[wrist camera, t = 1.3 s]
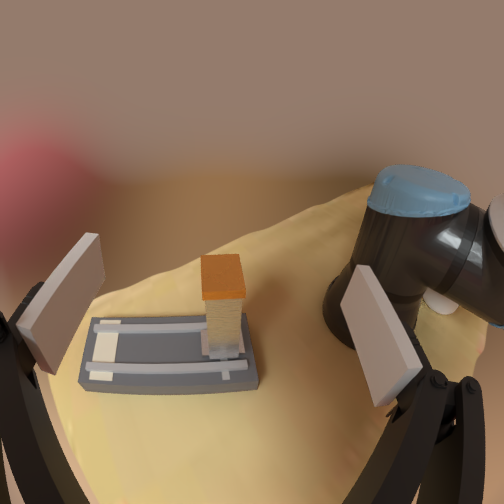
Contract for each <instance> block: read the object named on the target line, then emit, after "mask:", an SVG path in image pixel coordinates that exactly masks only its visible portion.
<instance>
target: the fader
mask: <svg viewBox="0 0 504 504" xmlns="http://www.w3.org/2000/svg"><path fill="white" fill-rule="evenodd" d="M201 279H202V298H203V301H204V300H205V307H206V321H207V330H201V345H202V357H208V356H209V357H210V359H224V358H237V357H239V354H245V348H244V343H243V337H242V331H241V328H240V327H241V313H242V298H245V295H246V288H245V283H244V278H243V273H242V268H241V263H240V258H239V254H224V255H201Z"/></svg>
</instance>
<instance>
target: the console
mask: <svg viewBox="0 0 504 504" xmlns="http://www.w3.org/2000/svg"><path fill="white" fill-rule="evenodd" d="M240 328H241V331H242V337H243V343H244V348H245V354H239V357H237V358H224V359H210V357H209V356H208V357H202V345H201V330H207V321H206V316H182V317H143V318H97V317H92V319H91V323H90V327H89V331H88V335H87V339H86V344H85V348H84V353H83V358H82V363H81V368H80V373H79V379H78V383H79V384H80V385H81V386H82V387H83V388H84V390H85V391H92V392H103V393H117V394H138V395H189V394H211V393H226V392H237V391H248V390H257V387H258V382H259V379H258V374H257V369H256V364H255V359H254V354H253V349H252V344H251V338H250V333H249V328H248V323H247V317H246V313H241V327H240Z"/></svg>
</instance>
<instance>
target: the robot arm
mask: <svg viewBox="0 0 504 504" xmlns="http://www.w3.org/2000/svg"><path fill="white" fill-rule="evenodd" d="M470 201H471V198H470V191H469V189H468V188H467V187H466V186H465V185H464V184H462V183H461V182H459V181H457V180H455V179H453V178H452V177H450V176H448V175H446V174H444V173H441V172H438V171H435V170H431V169H428V168H424V167H420V166H413V165H392V166H388V167H386V168H384V169H383V170H382V171H380V173H379V174H378V175H377V178H376V180H375V183H374V186H373V189H372V192H371V195H370V196H369V197H368V200H367V208H366V212H365V215H364V219H363V222H362V225H361V228H360V232H359V235H358V238H357V241H356V244H355V247H354V250H353V253H352V256H351V259H350V262H349V263H348V264H347V265H346V266H345V268H344V269H343V270H342V272H341V274H340V275H339V276H337V277H336V278H335V279H334V280H333V281H332V282H331V284H330V285H329V287H328V289H327V292H326V295H325V298H324V301H323V315H324V319H325V321H326V323H327V325H328V327H329V329H330V330H331V331H332V333H333V334H334V335H335V336H336V337H337V338H338V339H339V340H340V341H342V342H343V343H344V344H346V345H347V346H349V347H351V348H353V349H355V350H356V351H357V354H358V356H359V359H360V362H361V366H362V369H363V372H364V375H365V378H366V381H367V384H368V387H369V391H370V394H371V397H372V400H373V404H374V407H377V406H384V405H389V404H390V403H391V402H392V401H393V400H394V399H395V398H396V399H397V402H398V404H397V405H396V406H395V407H394V408H393V409H392V410H391V411H390V412H389V413H388V414H387V415H386V417H389V416H390V415H391V417H390V419H389V421H388V423H387V425H386V428H385V430H384V432H383V434H382V436H381V438H380V440H379V442H378V444H377V446H376V448H375V450H374V452H373V453H372V455H371V457H370V459H369V461H368V463H367V464H366V466H365V468H364V470H363V471H362V473H361V475H360V476H359V478H358V480H357V481H356V483H355V485H354V486H353V488H352V489H351V491H350V492H349V494H348V496H347V497H346V499H345V500H344V501H343V503H342V504H411V503H412V501H413V499H414V496H415V494H416V492H417V490H418V487H419V485H420V483H421V485H420V489H419V494H418V499H417V503H416V504H482V500H483V491H484V478H485V422H484V409H483V399H482V390H481V387H480V385H479V383H478V381H477V380H475V379H474V378H473V377H471V376H466V377H464V378H463V379H462V380H461V381H460V382H459V383H456V382H451V381H448V379H447V378H446V376H445V375H444V374H443V373H441V372H440V371H438V370H433V369H432V367H431V365H430V363H429V361H428V359H427V357H426V355H425V353H424V351H423V349H422V347H421V346H420V343H419V341H418V339H416V338H417V337H416V335H415V333H414V329H415V326H416V321H417V314H418V311H419V307H420V302H421V298H422V296H423V294H424V293H425V291H426V289H427V288H430V289H432V290H434V291H436V292H437V293H439V294H441V295H443V296H445V297H446V298H448V299H450V300H452V301H453V302H455V303H457V304H458V305H460V306H462V307H464V308H465V309H467V310H469V311H470V312H472V313H474V314H475V315H477V316H479V317H480V318H482V319H483V320H485V321H487V322H488V323H489V324H490V325H492V326H495V327H498V328H501V329H503V330H504V194H499V195H497V196H495V197H494V198H493V200H492V201H491V203H490V205H489V207H488V209H487V211H485V210H483V209H481V208H479V207H477V206H475V205H473V204H471V203H470ZM104 280H105V273H104V268H103V261H102V254H101V248H100V240H99V234H94V233H85V235H84V236H83V237H82V238H81V239H80V240H79V241H78V243H77V244H76V245H75V246H74V247H73V248H72V249H71V251H70V252H69V253H68V254H67V256H66V257H65V258H64V259H63V260H62V262H61V263H60V264H59V265H58V267H57V268H56V269H55V270H54V272H53V273H52V274H51V276H50V277H49V278H48V279H47V281H46V282H39V283H38V284H37V285H35V286H34V287H32V289H31V290H30V291H29V293H28V294H27V295H26V297H25V298H24V299H23V301H22V303H20V305H19V306H18V308H17V309H16V311H15V312H14V313H13V315H12V316H11V318H10V319H9V321H8V322H7V321H6V320H5V317H4V315H3V313H2V312H1V311H0V504H11V501H10V496H9V492H8V487H7V482H6V475H5V469H4V461H3V453H2V443H1V438H2V442H3V446H4V449H5V452H6V455H7V459H8V462H9V464H10V467H11V470H12V473H13V476H14V478H15V481H16V483H17V486H18V489H19V491H20V493H21V495H22V498H23V500H24V502H25V504H90V503H89V501H88V499H87V497H86V496H85V494H84V492H83V491H82V489H81V487H80V485H79V483H78V481H77V479H76V478H75V476H74V474H73V472H72V470H71V468H70V466H69V464H68V462H67V459H66V457H65V455H64V453H63V450H62V448H61V446H60V444H59V441H58V439H57V436H56V434H55V431H54V429H53V426H52V423H51V421H50V418H49V415H48V412H47V409H46V407H45V403H44V400H43V397H42V394H41V390H40V387H39V384H38V380H37V376H36V373H35V371H34V369H33V367H34V365H35V363H36V362H37V364H38V366H39V367H40V369H41V370H42V371H45V372H47V373H50V374H53V375H56V372H57V370H58V368H59V366H60V364H61V361H62V359H63V357H64V355H65V353H66V351H67V349H68V347H69V345H70V342H71V340H72V338H73V336H74V334H75V332H76V331H77V329H78V327H79V325H80V323H81V321H82V319H83V317H84V315H85V313H86V312H87V310H88V308H89V306H90V304H91V302H92V301H93V299H94V297H95V295H96V293H97V292H98V290H99V288H100V287H101V285H102V283H103V281H104ZM455 419H456V425H454V420H455Z"/></svg>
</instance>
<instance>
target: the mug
mask: <svg viewBox="0 0 504 504" xmlns="http://www.w3.org/2000/svg"><path fill="white" fill-rule="evenodd" d="M423 299H424V301H425V303H426V304H427V305H428V306H429V307H430V308H431V309H432V310H433V311H435V312H437V313H439V314H443V315H449V314H452V313H453V312H454V311H455V310H456V309H457V308H458V306H459V305H458V304H457V303H455V302H453V301H452V300H450V299H448V298H446V297H445V296H443V295H441V294H439V293H437V292H436V291H434V290H432V289H430V288H427V289H426V291H425V293H424V294H423Z"/></svg>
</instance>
